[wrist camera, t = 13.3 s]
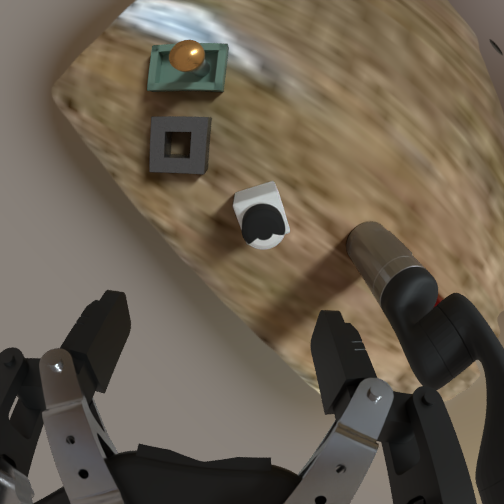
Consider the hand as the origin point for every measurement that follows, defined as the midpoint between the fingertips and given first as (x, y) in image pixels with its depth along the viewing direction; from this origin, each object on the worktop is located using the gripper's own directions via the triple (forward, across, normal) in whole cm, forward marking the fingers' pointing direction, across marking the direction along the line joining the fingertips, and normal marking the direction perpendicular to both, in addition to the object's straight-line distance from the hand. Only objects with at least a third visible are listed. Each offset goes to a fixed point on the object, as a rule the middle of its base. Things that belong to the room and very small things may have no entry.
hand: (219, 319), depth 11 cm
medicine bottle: (+38, -4, +7) cm, 39 cm away
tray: (+38, +10, -16) cm, 43 cm away
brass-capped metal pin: (+38, +8, -16) cm, 42 cm away
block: (+38, +10, -3) cm, 40 cm away
